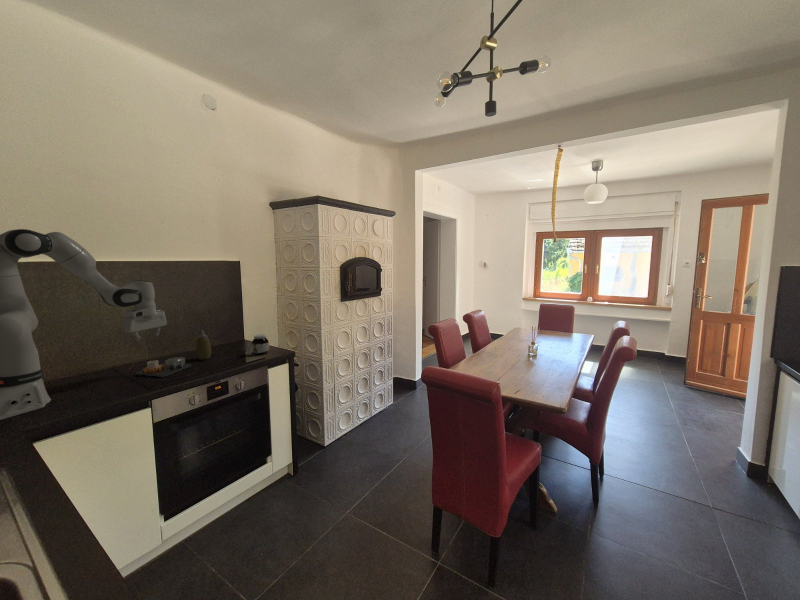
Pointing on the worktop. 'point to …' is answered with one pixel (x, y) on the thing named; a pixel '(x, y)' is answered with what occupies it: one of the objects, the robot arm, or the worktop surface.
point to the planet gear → (153, 367)
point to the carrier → (168, 367)
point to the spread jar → (258, 345)
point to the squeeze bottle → (203, 346)
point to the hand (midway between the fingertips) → (147, 337)
